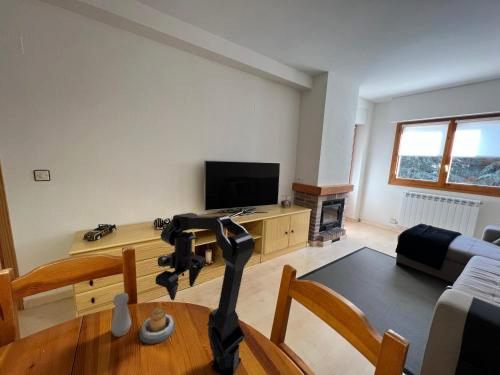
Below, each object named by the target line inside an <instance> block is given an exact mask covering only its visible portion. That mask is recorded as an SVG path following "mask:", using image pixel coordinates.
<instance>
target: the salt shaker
mask: <svg viewBox="0 0 500 375" xmlns="http://www.w3.org/2000/svg"><path fill="white" fill-rule="evenodd" d="M128 302H129V294H128V293H126V292H120V293H117V294H116V295H114V297H113V299H112V303H113V306H114V312H113V315H112V320H111V327H110V331H111V333H112V334H113V336H115V337H117V338H121V337H123V336H125V335H126V334H127V333H128V332H129V331H130V328H131V326H132V318H131V315H130V312H129V307H128Z"/></svg>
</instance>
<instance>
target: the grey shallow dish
mask: <svg viewBox="0 0 500 375" xmlns="http://www.w3.org/2000/svg"><path fill="white" fill-rule="evenodd" d="M165 315H166V326H165V329H164V330H162V331H160V332H156V333H152V332H151V331H150V317H149V318H147V319H146V320H144V322H143V324H142V326H141V328H140V329H139V339H140V340H141V342H143V344H147V345H155V344H156V345H157V344H160V343H162V342H165V341H167V340H169V338H171V337H172V335H173V334H174V332H175V329H176V322H175V320H174V319H173V317H172V316H171V315H169V314H167V313H165Z"/></svg>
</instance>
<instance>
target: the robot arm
mask: <svg viewBox="0 0 500 375" xmlns="http://www.w3.org/2000/svg"><path fill="white" fill-rule="evenodd" d="M189 230H205V231H206V230H207V231H208V230H209V231H210V230H211V231H212V230H213V232H214V234H215V240H216V244H217V245H218V247H219V248H220V250H221V253H222V254H221V258H222V259H223V262H224V264H225V267H224V268H225V269H224V273H223V278H222V285H221V290H220V294H219V302H218V307H217V308H215V309H214V310H212V311H210V313H209V315H208V321H207V322H208V323H207V324H206V326H207V327H208V328H207V335H208V341H209V346H210V350H211V352H213V358H212V360H213V364H212V365H211V371H214V372H215V373H217V374H220V375H235V373H236V371H237V370H238V368H239V366H240V364H241V362H242V358H241V357H240V344H241V343H243V341H244V340H245V338H246V336H245V333H244V331H243V329H242V327H241V326H240V323H239V315H238V313H237V312H236V309H237V305H238V300H239V299H238V298H239V294H240V288H241V285H242V284H241V283H242V278H243V274H244V268H245V266H246V265H247V263H248V262H249V261H250V259H251V258H252V255H253V253H254V250H255V248H256V241H255V239H254V238H253V236H252V235H251V234H250V233H249V232H248V231H247V229H246V228H245V227H244V226H242V225H240V224H239V223H237V222H236V221H234V220H233V219H232V217H231V216H229V215H227V214H221V215H198V214H197V213H194V212H186V213H185V212H184V213H180V214H174V215H173V216H172V219H171V221H170V223H168V224H167V223H166V224H165V228H164V229H163V230H161V233H160V239H161V241H163V242H165V243H166V244H168V245H170V246H172V247H174V251H173V252H171V253H170V254H167V255H161V256H159V257H157V266H158V267H159V268H161V267H162V268H166V267H169V269H172V270H173V269H174V270H173V271H169V270H164V271H162V272H161V273H159V274H157V275H156V276H155V285H158V286H160V287H163V288H165V289H166V290H167V293H168V296H169V298H170V300H171V301H174V300H175V299H176V296H177V292H178V288H179V277H180V276H181V275H183V274H184V273H185V272H188V282H189V283H188V284H189V287H193V286H194V284H195V282H196V280H197V279H198V276H199V275H200V273H201V271H202V270H203V269H204V266H206V258H205V257H204V256H201V255H197V254H195V251H193V240H196V239H197V237H196V235H195V234H194V233H193V231H189ZM224 230H227V232H229V233H231V234H232V236H228V237H227V236H226V234H225V232H224ZM188 231H189V232H188Z"/></svg>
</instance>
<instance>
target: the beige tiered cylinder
mask: <svg viewBox="0 0 500 375" xmlns="http://www.w3.org/2000/svg"><path fill="white" fill-rule="evenodd" d="M165 314H166V313H165V309H164V308H163V307H162V306H157V307H155V308H154V309H153V310H152V311H151V316H150V317H149V318H150V331H151V332H152V333H156V332H160V331H162V330H164V329H165V326H166V315H165Z"/></svg>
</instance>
